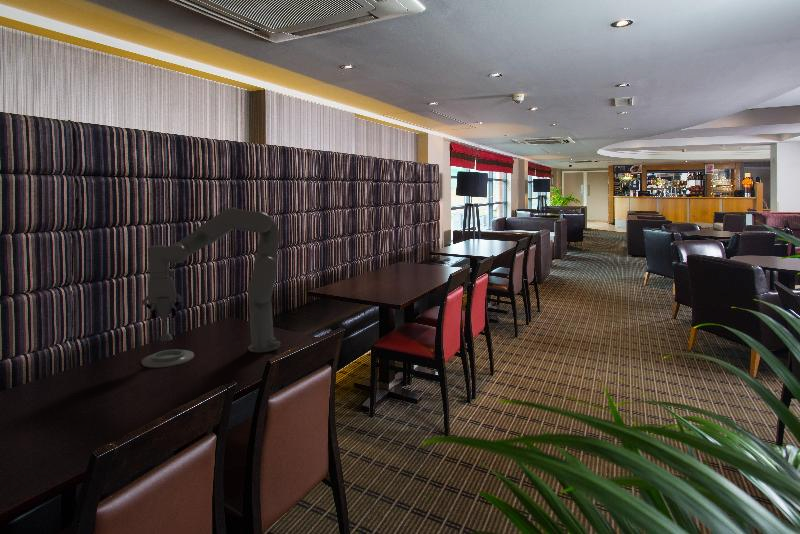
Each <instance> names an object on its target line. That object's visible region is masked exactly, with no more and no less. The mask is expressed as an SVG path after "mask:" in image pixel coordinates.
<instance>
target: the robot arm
mask: <svg viewBox="0 0 800 534" xmlns="http://www.w3.org/2000/svg"><path fill="white" fill-rule="evenodd" d="M233 230H236V231H243V232H251V233H256V234H259V239H258V244H257V250H256V254H255V258H254V260H253V263H252V264H253V270H252V275H251V279H250V281H249V283H248V284H247V297H248V310H249V323H250V324H249V325H250V327H249V328H250V339H251V344H250V345H249V346H248V347H247V348H248V349H247V350H248V351H249V352H251V353H257V354H258V353H268V352H272V351H275V350H276V349H277V348H279V347H281V344H282V342H281V341H280V340H277V338H276V336H275V335H274V321H273V306H272V294H273V291H274V287H275V283H276V278H277V274H278V263H277V257H278V253H279V252H278V251H279V246H280V239H281V237H280V229H279V228H278V225H277V223H276V221H275V220H274V219H273V218H272V217H271V216H270V215H269V214H268V213H266V212H265V211H251V210H246V209H241V208H237V207H233V206H232V207H227V208H226V209H224V210H223V211H221V212H220V213H218V214H217V215H215V216H214V217H212V218H211V219H209V220H208V221H205V222H204V223H203V224H201V225H200V226H199V227H198V228H197V229H195V230H193V232H191V233H190V234H188V235H186V236H185V237H184V238H182V239H180V240H179V241H178V242H175V243H174V244H173V245H168V246H167V245H164V244H156V245H155V244H154V245H150V246H148V248H147V258H148V259H147V260H148V268H149V279H148V282H147V293H148V294H147V295H146V296H145V297H144V298H143V300H142V301H141V304H142V305H143V306H145V307H146V308H147V309H149V310H150V311H151V319H153V320H154V321H157V312H156V310H155V305H156V303H157V300H156V299H161V298H169V297H170V298H169V302H170V304H171V318H172V319H175V316H176V308H177V307H178V305H180V304H181V303H182V301H183V300H184V298H183V297H182V295H180V294H178V293H177V292H176V288H175V287H176V286H175V281H174V278H173V277H172V276H175V271H171V269H170V268H171V266H170V263H171V264H180V263H181V264H182V263H183V262H186V260H187V259H188V257H190V256H191V255H193V254H195V253H196V252H197V251H200V250H202V249H203V248H204V247H207V246H208V245H211V244H214V243H216V242H217V241H219V240H220V239H221V238H223V237H224V236H226V235H227V234H229V233H230V232H232V231H233ZM176 299H177V300H176ZM175 301H176V302H175ZM148 302H149V303H148Z"/></svg>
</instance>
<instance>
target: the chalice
mask: <svg viewBox="0 0 800 534" xmlns="http://www.w3.org/2000/svg"><path fill="white" fill-rule="evenodd" d="M169 298H170V297H169ZM169 298H161V299H156V300H157V303H156V305H155V310H156V315H158V317H159V318H160V319H161V320H162V325H163V327H162V329H163V333H161V335H160V337H159V341H161V342H167V341H168V342H169V341H171V340H173V338H174V337H173V336H172V335H171V333H168V331H167V329H168V327H167V319H168V318H169V316H170V314H171V312H172V310H171V308H172V306H171V304H170V302H169Z"/></svg>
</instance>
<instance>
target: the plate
mask: <svg viewBox="0 0 800 534" xmlns="http://www.w3.org/2000/svg"><path fill="white" fill-rule="evenodd" d="M194 357H195V353H194V352H193V351H191V350H187V349H178V348H175V349H165V350H160V351H158V352H154V353H153V354H150V355H147V356H145V357H144V358H142V359H141V365H142V366H143V367H146V368H152V369H153V368H154V369H156V368H157V369H159V368H168V367H174V366H175V367H176V366H177V365H178V366H179V365H181V364H185V363H187V362H190V361H191V360H192V359H194Z"/></svg>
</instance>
